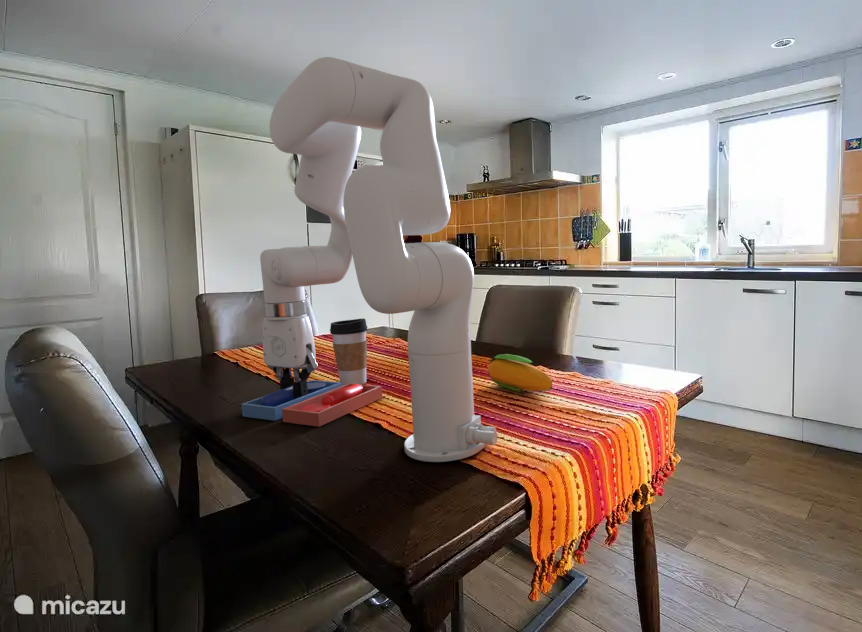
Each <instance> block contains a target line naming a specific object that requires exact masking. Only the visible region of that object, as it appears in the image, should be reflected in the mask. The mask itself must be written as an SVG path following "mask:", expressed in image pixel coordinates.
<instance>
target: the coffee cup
mask: <svg viewBox="0 0 862 632" xmlns="http://www.w3.org/2000/svg"><path fill="white" fill-rule="evenodd" d="M368 330H369V329H368V325H367V321H366V318H353V319H345V320H338V321H333V322H330V329H329V334H331V337H332V348H333V353H334V359H335V363H336V368H337V373H338V379H339V382H341V383H342V386H343V385H346V384H348V383H352V384H363V385H365V383H367V362H368V361H367V354H368V339H367V332H368Z"/></svg>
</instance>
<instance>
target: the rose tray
mask: <svg viewBox="0 0 862 632" xmlns="http://www.w3.org/2000/svg"><path fill="white" fill-rule="evenodd" d="M351 385H353V384H352V383H348V384H346V385H343V386H341V387H338V388H335V389H333V390H330V391H328V392H325V393H322V394H320V395H317V396H315V397H312V398H309V399H307V400H304V401H302V402H299V403H296V404H294V405H291V406H289V407H286V408H283V409H282V414H283V418H282V422H283V423H289V424H297V425H303V426H312V427H322V426H324V425H326V424H329V423H331V422H333V421H335V420H337V419H340V418H341V417H343V416H346V415H348V414H350V413H352V412H354V411H357V410H358V409H361V408H363V407H365V406H367V405H370V404H372V403H374V402H376V401H379V400H380V399H382V398H383V386H382V385H374V384H360V385H361V386H362V387H363V393H362V394H359V395H357V396H355V397H352V398H350V399H348V400H345V401H343V402H341V403H338V404H336V405H334V406H331V407H329V408H326V409H324V410H322V411H319V412H312V411H304V410H301V409H302V408H303V407H305V406H307V405H311V404H317V403H321V402H322V399H323V397H324V396H326V395H328V394H331V393H333V392H336V391H338V390H341V389H343V388H346V387H348V386H351Z"/></svg>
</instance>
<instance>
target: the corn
mask: <svg viewBox="0 0 862 632" xmlns="http://www.w3.org/2000/svg"><path fill="white" fill-rule="evenodd" d="M487 371H488V373H487V374H488V377H489V378H490V380H491V381H492V382H493V383H495V384H497V385H498V386H500V387H502V388H505V389H508V390H511V391H515V392H518V393H523V394H524V393H525V392H524V391H531V392H534V391H538V392H543V391H544V392H546V391H550V390H552V389H553V379H552V377H550V375H548V374H547V373H545V372H544V371H542V370H541V369H539V368H538V367H537V366H534V364H533V361H532V360H531V359H529V358H528V357H524V356H521V355H517V354H516V355H515V354H509V353H504V354H503V353H502V354H497V355H495V356H494V357H493V358H491V359H490V360H489V365H488V367H487ZM522 390H523V391H522Z"/></svg>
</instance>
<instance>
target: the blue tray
mask: <svg viewBox="0 0 862 632" xmlns="http://www.w3.org/2000/svg"><path fill="white" fill-rule="evenodd" d="M315 382H322V383H325V384H326V388H324V389H321V390H318V391H316V392H313V393H310V394H308V395H305V396H302V397H300V398H297V399H294V400H292V401H289V402H286V403H284V404H281V405H278V406H276V407H271V406H263V405H261V399H262V397H263V396H261V397H258V398H254V399H252V400H249V401H246V402H243V403H240V405H241V406H240V407H241V415H242V417H245V418H253V419H259V420H265V421H266V420H267V421H274V422H276V421H279V420H281V419H283V414H282V409H283V408H286V407H289V406H291V405H294V404H296V403H299V402H302V401H304V400H307V399H309V398H312V397H315V396H317V395H320V394H322V393H325V392H328V391H330V390H333V389H335V388H338V387H341V386H342V383H341V382H340V381H328V380H316V379H310V380H307V384H308V383H315Z"/></svg>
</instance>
